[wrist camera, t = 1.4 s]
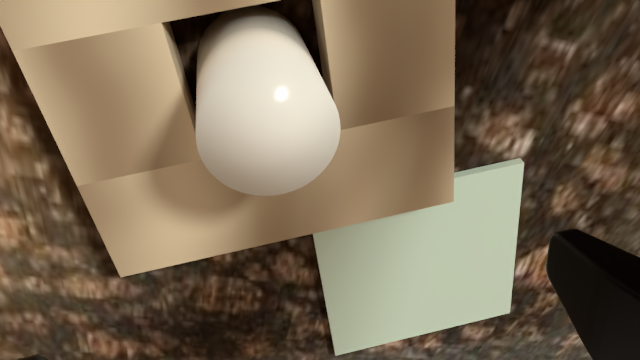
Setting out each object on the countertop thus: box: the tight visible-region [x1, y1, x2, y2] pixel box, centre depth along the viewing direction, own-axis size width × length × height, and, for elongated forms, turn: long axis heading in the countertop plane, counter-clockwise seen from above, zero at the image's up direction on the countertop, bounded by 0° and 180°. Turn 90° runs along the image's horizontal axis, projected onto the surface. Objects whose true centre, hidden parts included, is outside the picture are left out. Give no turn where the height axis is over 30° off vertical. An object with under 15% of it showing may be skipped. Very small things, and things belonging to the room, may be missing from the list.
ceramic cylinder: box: [196, 6, 341, 196], centre depth 17 cm, size 4×4×6 cm
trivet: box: [313, 158, 524, 356], centre depth 27 cm, size 10×10×1 cm
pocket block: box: [0, 0, 455, 277], centre depth 19 cm, size 14×14×2 cm
